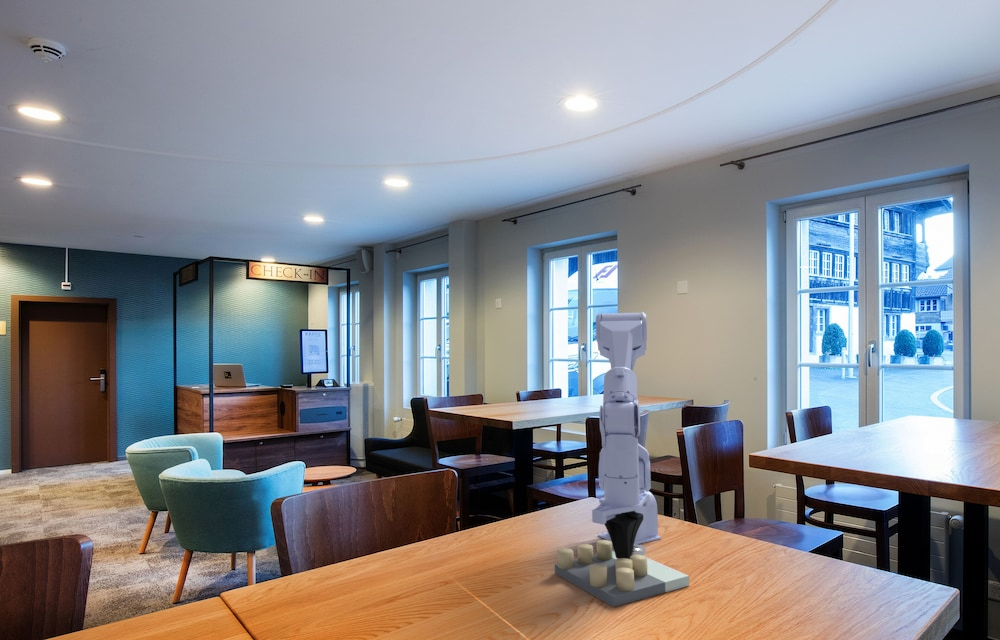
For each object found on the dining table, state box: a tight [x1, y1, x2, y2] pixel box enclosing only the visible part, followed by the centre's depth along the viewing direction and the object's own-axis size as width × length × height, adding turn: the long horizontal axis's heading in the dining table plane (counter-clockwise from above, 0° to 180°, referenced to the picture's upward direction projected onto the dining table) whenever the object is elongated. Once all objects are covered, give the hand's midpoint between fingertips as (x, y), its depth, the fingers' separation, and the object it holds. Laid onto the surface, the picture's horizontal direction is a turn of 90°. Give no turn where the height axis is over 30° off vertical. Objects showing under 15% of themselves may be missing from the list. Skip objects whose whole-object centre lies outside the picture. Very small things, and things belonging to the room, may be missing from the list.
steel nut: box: [631, 544, 647, 557], centre depth 102 cm, size 4×4×2 cm
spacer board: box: [554, 539, 690, 608], centre depth 98 cm, size 15×15×4 cm
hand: (623, 558), depth 100 cm, fingers closed
